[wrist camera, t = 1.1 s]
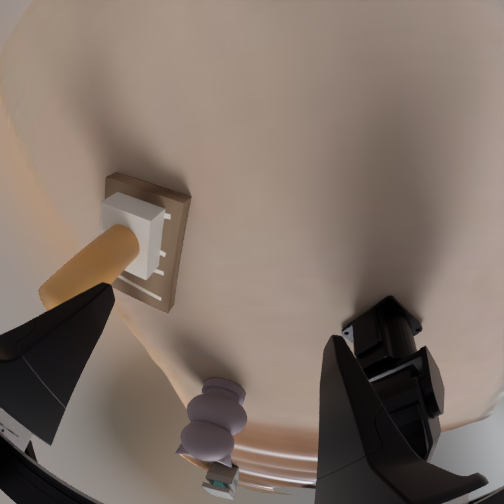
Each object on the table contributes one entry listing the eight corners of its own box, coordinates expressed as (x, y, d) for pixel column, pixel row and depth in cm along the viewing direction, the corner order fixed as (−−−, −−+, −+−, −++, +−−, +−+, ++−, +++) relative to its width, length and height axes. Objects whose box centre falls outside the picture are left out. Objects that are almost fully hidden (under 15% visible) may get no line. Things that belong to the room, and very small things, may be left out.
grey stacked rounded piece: (253, 381, 34) (231, 460, 24) (254, 406, 38) (236, 473, 28) (193, 369, 35) (162, 441, 25) (202, 395, 39) (178, 457, 29)
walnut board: (191, 196, 22) (183, 203, 21) (173, 304, 29) (168, 313, 28) (116, 172, 22) (105, 177, 21) (114, 277, 29) (107, 284, 28)
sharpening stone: (211, 456, 63) (201, 486, 53) (237, 462, 61) (228, 493, 52) (219, 471, 76) (212, 495, 66) (240, 476, 74) (233, 500, 65)
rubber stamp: (165, 208, 21) (74, 291, 12) (158, 265, 24) (90, 351, 15) (117, 191, 21) (22, 257, 12) (116, 247, 25) (43, 319, 15)
